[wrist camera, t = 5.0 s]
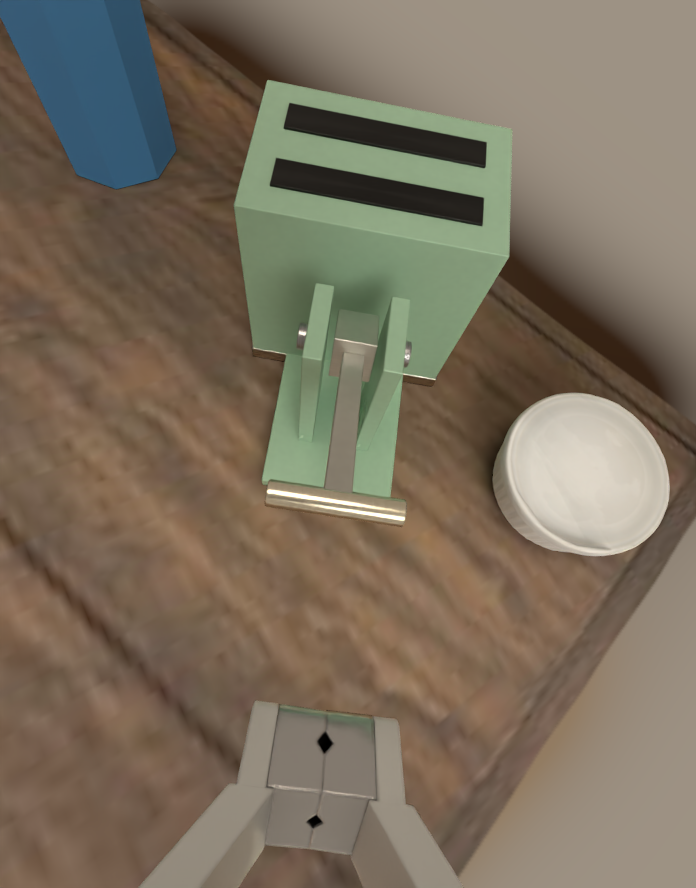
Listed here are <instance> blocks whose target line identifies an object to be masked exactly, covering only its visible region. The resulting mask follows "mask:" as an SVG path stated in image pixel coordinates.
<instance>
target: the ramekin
mask: <svg viewBox="0 0 696 888" xmlns="http://www.w3.org/2000/svg"><path fill="white" fill-rule="evenodd" d="M492 480H493V489H494V493H495V497H496V499H497V503H498V505H499V507H500V509H501V511H502V513H503V514H504V516H505V518H506V519H507V521H508V522H509V523H510V524H511V526H512V527H513V528H514V529H516V530H517V531H518V532H519V533H520V534H521V535H523V536H524V537H525V538H526V539H528V540H530V541H532V542H533V543H535V544H537V545H540V546H542V547H544V548H548V549H550V550H553V551H560V552H571V553H575V554H580V555H586V556H606V555H613V554H617V553H621V552H624V551H627V550H630V549H632V548H634V547H636V546H637V545H639V544H641V543H642V542H643V541H645V540H646V539H647V538H648V537H649V536H650V535H651V534H652V533H653V532H654V531H655V530H656V528H657V527H658V526H659V524H660V522H661V520H662V518H663V516H664V514H665V511H666V508H667V504H668V500H669V489H670V487H669V476H668V470H667V466H666V461H665V459H664V456H663V454H662V452H661V450H660V448H659V446H658V444H657V443H656V441H655V439H654V438H653V436H652V435H651V434H650V432H649V431H648V430H647V429H646V427H645V426H644V425H643V424H642V423H641V422H640V421H639V420H638V419H637V418H636V417H635V416H634V415H633V414H631V413H630V412H629V411H627V410H626V409H624V408H623V407H621V406H620V405H618V404H617V403H614V402H612V401H610V400H607V399H604V398H601V397H598V396H594V395H590V394H584V393H562V394H556V395H553V396H550V397H547V398H544V399H542V400H540V401H538V402H536V403H535V404H533V405H532V406H530V407H529V408H527V409H526V410H525V411H524V412H522V413H521V414H520V415H519V416H518V418H517V419H516V420H515V421H514V422H513V424H512V425H511V427H510V428H509V430H508V432H507V434H506V437H505V439H504V443H503V444H502V446H501V448H500V450H499V452H498V454H497V458H496V460H495V463H494V469H493V478H492Z"/></svg>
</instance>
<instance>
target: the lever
mask: <svg viewBox="0 0 696 888" xmlns="http://www.w3.org/2000/svg"><path fill="white" fill-rule="evenodd" d="M378 330H379V316H377V315H372V314H366V313H360V312H355V311H349V310H343V309H339V312H338V318H337V324H336V330H335V336H334V343H333V349H332V355H331V362H330V368H329V374H328V375H329V376H335V377H339V380H338V388H337V395H336V402H335V409H334V416H333V424H332V431H331V438H330V445H329V452H328V460H327V467H326V474H325V481H324V487H320V486H314V485H307V484H301V483H295V482H288V481H282V480H275V479H270V480H269V481H268V485H267V489H266V495H265V506H266V507H272V508H278V509H285V510H292V511H298V512H305V513H311V514H318V515H325V516H331V517H338V518H344V519H351V520H358V521H364V522H371V523H377V524H384V525H391V526H397V527H402V526H403V525H404V522H405V519H406V513H407V503H406V500H404V499H398V498H391V497H385V496H378V495H372V494H366V493H359V492H353V491H352V490H353V479H354V468H355V456H356V445H357V433H358V422H359V410H360V399H361V387H362V381H364V382H369V380H370V376H371V372H372V368H373V363H374V359H375V355H376V351H377V346H378Z"/></svg>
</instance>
